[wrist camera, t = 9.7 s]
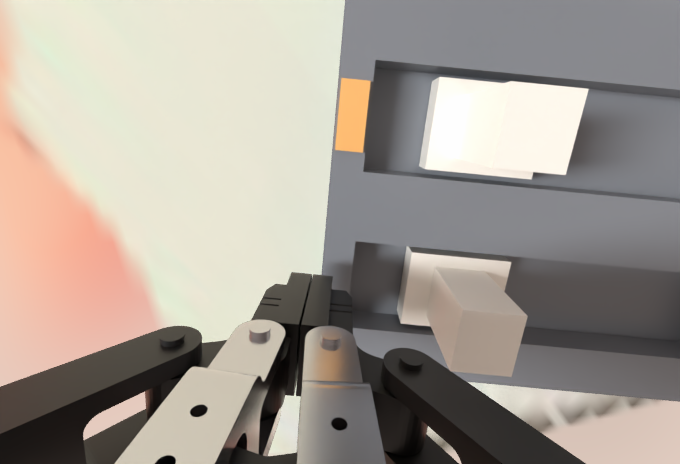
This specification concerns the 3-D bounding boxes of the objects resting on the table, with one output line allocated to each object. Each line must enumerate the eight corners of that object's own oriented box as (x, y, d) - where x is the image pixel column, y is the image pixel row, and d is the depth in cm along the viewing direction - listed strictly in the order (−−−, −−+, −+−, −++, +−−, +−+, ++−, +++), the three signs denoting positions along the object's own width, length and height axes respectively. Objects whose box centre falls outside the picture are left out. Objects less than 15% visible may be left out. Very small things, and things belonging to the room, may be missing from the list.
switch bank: (865, -141, 13) (1031, -227, 10) (663, 362, 18) (726, 408, 15) (364, -192, 13) (370, -297, 9) (318, 329, 18) (313, 369, 15)
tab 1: (536, 91, 14) (633, 71, 9) (516, 175, 14) (596, 196, 10) (431, 81, 14) (475, 56, 9) (418, 166, 14) (452, 182, 10)
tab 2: (499, 252, 15) (564, 304, 11) (484, 318, 16) (538, 392, 12) (407, 243, 15) (433, 291, 11) (396, 309, 16) (416, 381, 12)
